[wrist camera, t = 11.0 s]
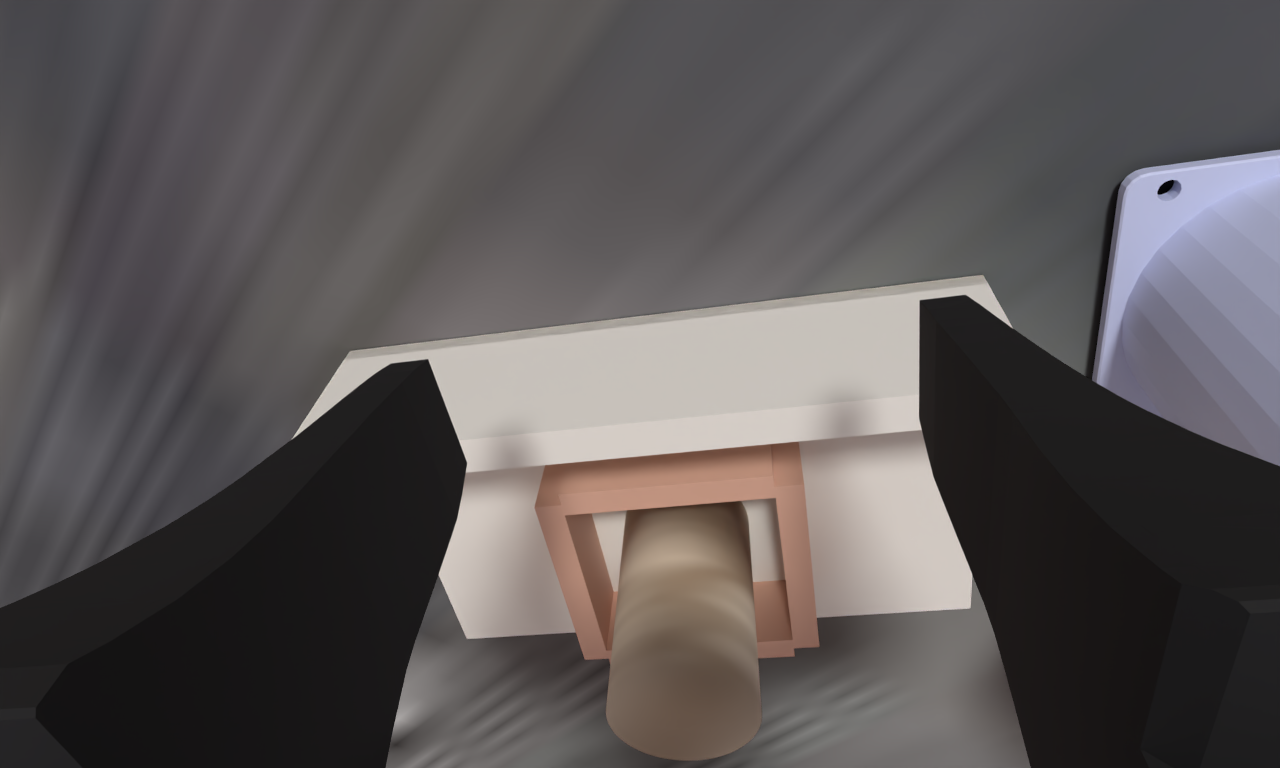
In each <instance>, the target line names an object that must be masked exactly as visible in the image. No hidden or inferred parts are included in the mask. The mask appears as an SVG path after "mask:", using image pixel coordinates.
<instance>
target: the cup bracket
mask: <svg viewBox="0 0 1280 768" xmlns="http://www.w3.org/2000/svg"><path fill="white" fill-rule="evenodd" d="M959 295H967V296H968V297H970V298H971V299H973V300H974V301H976V302H977V303H979V304H980V305H981V306H983V307H984V308H985V309H987V310H988V311H990V312H991V313H992V314H994V315H995V316H996V317H998V318H999V319H1000V320H1002V321H1003V322H1005V323H1006V324H1007V325H1009V326H1010V327H1012V326H1011V324H1010V322H1009V320H1008V319H1007V317H1006V315H1005V313H1004V312H1003V310H1002V308H1001V306H1000V304H999V303H998V301H997V299H996V297H995V295H994V294H993V292H992V290H991V288H990V286H989V285H988V283H987V281H986V279H985V278H984V276H983V275H978V276H969V277H961V278H953V279H944V280H936V281H928V282H919V283H911V284H903V285H894V286H886V287H878V288H870V289H861V290H853V291H845V292H836V293H828V294H820V295H811V296H803V297H795V298H786V299H778V300H770V301H761V302H753V303H745V304H737V305H728V306H720V307H712V308H703V309H695V310H687V311H678V312H670V313H662V314H653V315H645V316H637V317H629V318H620V319H612V320H604V321H595V322H587V323H579V324H570V325H562V326H554V327H545V328H537V329H529V330H520V331H512V332H504V333H496V334H487V335H479V336H471V337H462V338H454V339H446V340H437V341H429V342H421V343H412V344H404V345H396V346H387V347H379V348H371V349H363V350H354V351H350V352H349V353H348V355H347V356H346V358H345V359H344V361H343V362H342V364H341V365H340V367H339V368H338V370H337V371H336V373H335V374H334V376H333V377H332V379H331V380H330V382H329V384H328V385H327V387H326V388H325V390H324V391H323V393H322V394H321V396H320V397H319V399H318V400H317V402H316V403H315V405H314V406H313V408H312V409H311V411H310V412H309V414H308V416H307V417H306V419H305V420H304V422H303V423H302V425H301V426H300V428H299V429H298V431H297V432H296V434H295V435H294V437H296V436H297V435H298V434H299V433H301V432H302V431H303V430H304V429H306V428H307V427H308V426H309V425H311V424H312V423H313V422H314V421H316V420H317V419H318V418H319V417H321V416H322V415H323V414H324V413H326V412H327V411H328V410H329V409H331V408H332V407H333V406H334V405H336V404H337V403H338V402H339V401H340V400H342V399H343V398H344V397H345V396H347V395H348V394H349V393H350V392H352V391H353V390H354V389H355V388H357V387H358V386H359V385H361V384H362V383H363V382H364V381H366V380H367V379H368V378H370V377H371V376H373V375H374V374H375V373H377V372H378V371H380V370H381V369H383V368H384V367H386V366H387V365H389V364H391V363H399V362H407V361H416V360H424V359H428V360H429V363H430V366H431V368H432V371H433V373H434V376H435V379H436V381H437V384H438V387H439V389H440V392H441V395H442V397H443V400H444V403H445V405H446V408H447V411H448V413H449V416H450V418H451V421H452V424H453V426H454V429H455V432H456V434H457V437H458V440H459V442H460V445H461V448H462V450H463V453H464V456H465V458H466V461H467V468H466V474H465V480H464V486H463V492H462V497H461V502H460V507H459V512H458V517H457V521H456V524H455V527H454V530H453V533H452V536H451V539H450V542H449V545H448V548H447V551H446V554H445V557H444V560H443V563H442V566H441V569H440V572H439V577H440V579H441V581H442V583H443V586H444V588H445V590H446V592H447V595H448V597H449V599H450V601H451V604H452V606H453V608H454V611H455V613H456V615H457V617H458V620H459V622H460V624H461V626H462V629H463V631H464V633H465V635H466V638H467V639H475V638H491V637H508V636H524V635H540V634H557V633H573V632H576V634H577V637H578V640H579V644H580V647H581V650H582V653H583V656H584V659H585V660H592V659H609V661H610V664H611V654H612V645H613V635H614V625H615V615H616V605H617V595H618V585H619V575H620V565H621V555H622V545H623V536H624V526H625V516H626V512H627V510H637V509H649V508H661V507H673V506H685V505H697V504H709V503H721V502H733V501H741V502H742V504H743V505H744V507H745V509H746V512H747V515H748V521H749V534H750V548H751V563H752V577H753V592H754V606H755V621H756V635H757V650H758V658H775V657H793V656H795V654H794V648H808V647H819V637H818V626H817V618H820V617H836V616H853V615H869V614H886V613H902V612H918V611H935V610H951V609H968V608H970V607H971V588H972V572H971V570H970V567H969V565H968V562H967V560H966V558H965V555H964V553H963V550H962V548H961V545H960V543H959V540H958V538H957V535H956V533H955V530H954V528H953V525H952V523H951V520H950V518H949V515H948V513H947V510H946V508H945V505H944V503H943V500H942V498H941V495H940V493H939V490H938V487H937V485H936V482H935V480H934V477H933V473H932V469H931V465H930V462H929V458H928V454H927V450H926V446H925V441H924V437H923V433H922V429H921V425H920V420H919V305H920V300H925V299H934V298H942V297H950V296H959ZM294 437H293V438H294ZM293 438H292V439H293Z"/></svg>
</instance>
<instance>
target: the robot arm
mask: <svg viewBox="0 0 1280 768" xmlns="http://www.w3.org/2000/svg"><path fill="white" fill-rule="evenodd" d="M1169 180H1174V184H1173V186H1172V188H1171V189H1170V190H1169V191H1168V192H1167V193H1164V194H1161V195H1158V194H1157V191H1158V189H1159V187H1160V186H1161V185H1162V184H1163V183H1164V182H1167V181H1169ZM919 420H920V425H921V429H922V433H923V437H924V441H925V446H926V450H927V454H928V458H929V462H930V465H931V469H932V473H933V477H934V480H935V482H936V485H937V487H938V490H939V493H940V495H941V498H942V500H943V503H944V505H945V508H946V510H947V513H948V515H949V518H950V520H951V523H952V525H953V528H954V530H955V533H956V535H957V538H958V540H959V543H960V545H961V548H962V550H963V553H964V555H965V558H966V560H967V562H968V565H969V567H970V570H971V572H972V575H973V577H974V580H975V582H976V585H977V587H978V590H979V592H980V595H981V597H982V600H983V602H984V605H985V607H986V610H987V613H988V616H989V619H990V622H991V625H992V628H993V630H994V633H995V637H996V640H997V644H998V647H999V651H1000V654H1001V658H1002V662H1003V665H1004V669H1005V672H1006V676H1007V680H1008V683H1009V687H1010V690H1011V694H1012V697H1013V701H1014V705H1015V709H1016V713H1017V716H1018V720H1019V724H1020V728H1021V732H1022V735H1023V739H1024V743H1025V747H1026V751H1027V754H1028V758H1029V762H1030V766H1031V768H1280V150H1275V151H1267V152H1260V153H1253V154H1245V155H1238V156H1231V157H1223V158H1216V159H1208V160H1201V161H1194V162H1186V163H1179V164H1172V165H1164V166H1157V167H1149V168H1143V169H1140V170H1136V171H1134V172H1133V173H1131V174H1130V175H1128V176H1127V177H1126V178H1125V179H1124V181H1123V182H1122V183H1121V185H1120V188H1119V191H1118V198H1117V206H1116V213H1115V220H1114V227H1113V234H1112V241H1111V248H1110V256H1109V263H1108V270H1107V277H1106V284H1105V291H1104V298H1103V305H1102V313H1101V320H1100V327H1099V334H1098V341H1097V348H1096V355H1095V363H1094V370H1093V377H1092V380H1090V379H1089V378H1087V377H1085V376H1084V375H1082V374H1080V373H1079V372H1077V371H1076V370H1074V369H1072V368H1071V367H1069V366H1068V365H1066V364H1064V363H1063V362H1061V361H1060V360H1058V359H1057V358H1055V357H1054V356H1052V355H1050V354H1049V353H1048V352H1046V351H1045V350H1043V349H1042V348H1040V347H1039V346H1037V345H1036V344H1034V343H1033V342H1031V341H1030V340H1028V339H1027V338H1026V337H1024V336H1023V335H1021V334H1020V333H1019V332H1017V331H1016V330H1014V329H1013V328H1012V327H1010V326H1009V325H1007V324H1006V323H1005V322H1003V321H1002V320H1000V319H999V318H998V317H996V316H995V315H994V314H992V313H991V312H990V311H988V310H987V309H985V308H984V307H983V306H981V305H980V304H979V303H977V302H976V301H974V300H973V299H971V298H970V297H968V296H967V295H959V296H950V297H942V298H934V299H925V300H920V305H919ZM466 468H467V461H466V458H465V456H464V453H463V450H462V448H461V445H460V442H459V440H458V437H457V434H456V432H455V429H454V426H453V424H452V421H451V418H450V416H449V413H448V411H447V408H446V405H445V403H444V400H443V397H442V395H441V392H440V389H439V387H438V384H437V381H436V379H435V376H434V373H433V371H432V368H431V366H430V363H429V360H428V359H424V360H416V361H407V362H399V363H391V364H389V365H387V366H386V367H384V368H383V369H381V370H380V371H378V372H377V373H375V374H374V375H373V376H371V377H370V378H368V379H367V380H366V381H364V382H363V383H362V384H361V385H359V386H358V387H357V388H355V389H354V390H353V391H352V392H350V393H349V394H348V395H347V396H345V397H344V398H343V399H342V400H340V401H339V402H338V403H337V404H336V405H334V406H333V407H332V408H331V409H329V410H328V411H327V412H326V413H324V414H323V415H322V416H321V417H319V418H318V419H317V420H316V421H314V422H313V423H312V424H311V425H309V426H308V427H307V428H306V429H304V430H303V431H302V432H301V433H299V434H298V435H297V436H296V437H294V438H293V439H292V440H291V441H289V442H288V443H287V444H285V445H284V446H283V447H281V448H280V449H279V450H277V451H276V452H275V453H273V454H272V455H271V456H269V457H268V458H267V459H265V460H264V461H263V462H261V463H260V464H258V465H257V466H256V467H254V468H253V469H252V470H250V471H249V472H248V473H246V474H245V475H244V476H242V477H241V478H240V479H238V480H237V481H235V482H234V483H233V484H231V485H230V486H228V487H227V488H225V489H224V490H222V491H221V492H219V493H218V494H216V495H215V496H213V497H212V498H210V499H209V500H207V501H206V502H204V503H203V504H201V505H199V506H198V507H196V508H195V509H193V510H191V511H190V512H188V513H187V514H185V515H183V516H182V517H180V518H179V519H177V520H175V521H174V522H172V523H170V524H169V525H167V526H165V527H164V528H162V529H160V530H158V531H156V532H155V533H153V534H151V535H149V536H147V537H145V538H143V539H142V540H140V541H138V542H136V543H134V544H132V545H131V546H129V547H127V548H125V549H123V550H121V551H120V552H118V553H116V554H114V555H112V556H110V557H109V558H107V559H105V560H103V561H101V562H99V563H97V564H95V565H93V566H91V567H89V568H87V569H85V570H83V571H81V572H79V573H77V574H75V575H73V576H71V577H69V578H67V579H64V580H62V581H60V582H58V583H56V584H54V585H52V586H50V587H47V588H45V589H43V590H41V591H38V592H36V593H34V594H32V595H30V596H27V597H25V598H23V599H21V600H18V601H16V602H14V603H11V604H9V605H7V606H4V607H2V608H0V768H385V767H386V762H387V757H388V752H389V747H390V741H391V736H392V731H393V727H394V722H395V718H396V713H397V709H398V705H399V700H400V696H401V691H402V687H403V683H404V678H405V674H406V670H407V666H408V663H409V660H410V656H411V653H412V650H413V646H414V643H415V640H416V637H417V634H418V631H419V628H420V626H421V623H422V620H423V617H424V614H425V611H426V609H427V606H428V603H429V600H430V597H431V594H432V591H433V589H434V586H435V583H436V580H437V577H438V574H439V572H440V569H441V566H442V563H443V560H444V557H445V554H446V551H447V548H448V545H449V542H450V539H451V536H452V533H453V530H454V527H455V524H456V521H457V517H458V512H459V507H460V502H461V497H462V492H463V486H464V480H465V474H466Z"/></svg>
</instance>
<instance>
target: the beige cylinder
mask: <svg viewBox="0 0 1280 768" xmlns="http://www.w3.org/2000/svg"><path fill="white" fill-rule="evenodd" d="M606 717H607V721H608V723H609V725H610V727H611V729H612V730H613V732H614V733H615V734H616V735H617V736H618V737H619V738H620V739H621V740H622V741H624V742H625V743H626V744H628V745H629V746H631V747H633V748H635V749H637V750H639V751H641V752H643V753H646V754H649V755H652V756H656V757H660V758H665V759H670V760H682V761H694V760H705V759H711V758H716V757H720V756H723V755H726V754H729V753H731V752H734V751H736V750H737V749H739V748H741V747H743V746H744V745H745V744H747V743H748V742H749V741H750V740H751V739H752V738H753V737H754V736H755V735H756V733H757V732H758V730H759V728H760V725H761V722H762V708H761V693H760V679H759V664H758V650H757V635H756V621H755V606H754V592H753V577H752V563H751V548H750V534H749V521H748V515H747V512H746V509H745V507H744V505H743V504H742V502H741V501H733V502H721V503H709V504H697V505H685V506H673V507H661V508H649V509H637V510H627V512H626V516H625V526H624V536H623V545H622V555H621V565H620V575H619V585H618V595H617V605H616V615H615V625H614V635H613V645H612V654H611V664H610V674H609V684H608V694H607V704H606Z"/></svg>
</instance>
